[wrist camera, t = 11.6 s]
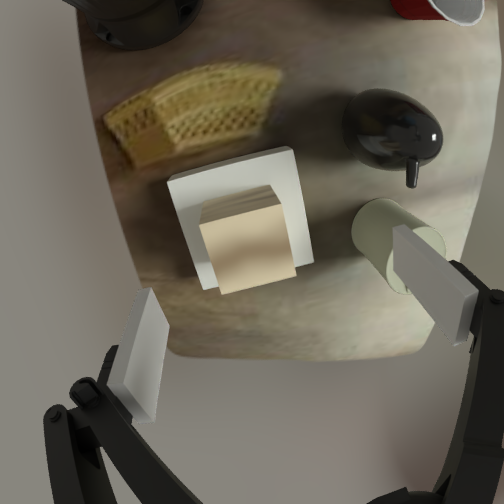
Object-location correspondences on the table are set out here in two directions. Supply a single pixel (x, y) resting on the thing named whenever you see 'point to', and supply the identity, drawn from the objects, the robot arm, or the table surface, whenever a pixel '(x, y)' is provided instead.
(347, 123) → the pump dispenser
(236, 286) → the maple cube
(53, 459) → the robot arm
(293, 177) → the white square slab
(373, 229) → the can
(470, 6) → the plastic cup
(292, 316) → the table surface
